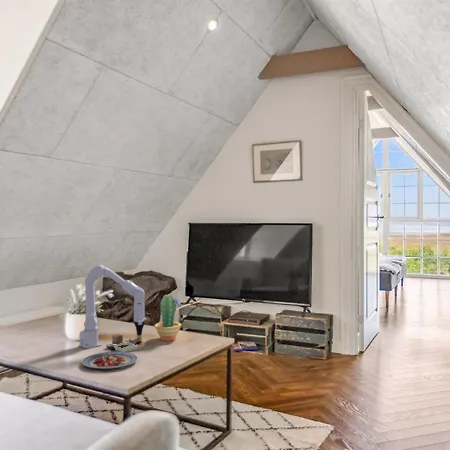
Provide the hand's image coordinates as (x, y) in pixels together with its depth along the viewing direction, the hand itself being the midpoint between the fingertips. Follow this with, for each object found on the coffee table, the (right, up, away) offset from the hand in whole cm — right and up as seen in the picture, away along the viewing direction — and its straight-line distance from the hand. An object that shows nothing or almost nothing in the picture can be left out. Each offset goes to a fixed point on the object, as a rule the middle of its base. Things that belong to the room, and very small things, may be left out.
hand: (139, 335), depth 262 cm
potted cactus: (+14, -5, +12) cm, 19 cm away
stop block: (-11, -5, -5) cm, 13 cm away
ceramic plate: (-8, -6, -35) cm, 36 cm away
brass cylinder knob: (-2, -3, +1) cm, 4 cm away
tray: (-5, -5, -11) cm, 13 cm away
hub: (-4, -5, -1) cm, 6 cm away
